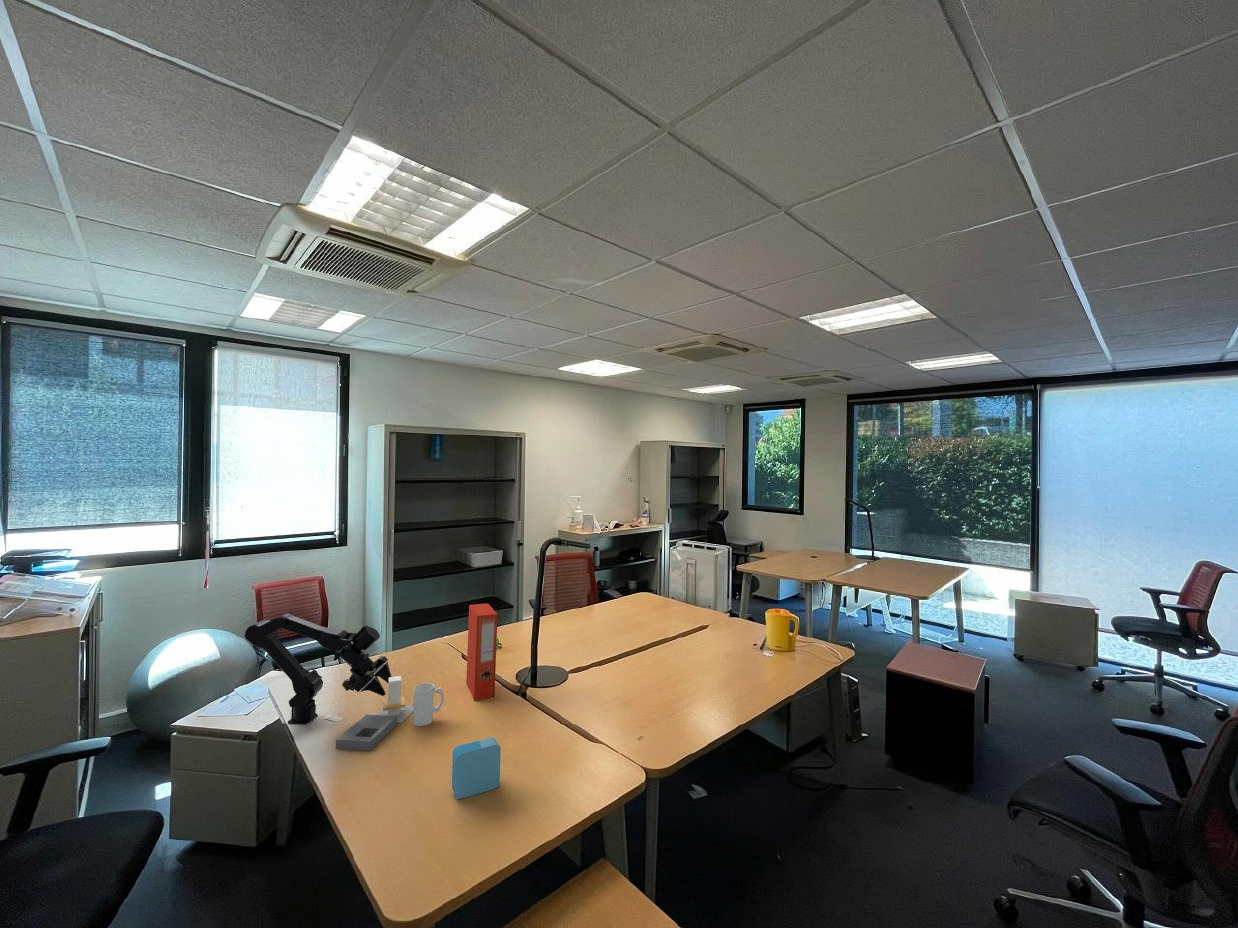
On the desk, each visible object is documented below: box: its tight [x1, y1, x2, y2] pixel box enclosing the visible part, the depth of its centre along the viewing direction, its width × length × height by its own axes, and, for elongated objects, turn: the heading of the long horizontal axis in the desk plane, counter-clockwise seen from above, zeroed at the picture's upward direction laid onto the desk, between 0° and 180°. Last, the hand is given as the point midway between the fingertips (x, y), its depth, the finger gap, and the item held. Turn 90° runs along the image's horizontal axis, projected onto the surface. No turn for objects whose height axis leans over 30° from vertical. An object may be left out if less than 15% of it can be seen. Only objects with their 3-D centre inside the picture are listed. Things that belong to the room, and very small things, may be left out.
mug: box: [412, 682, 445, 727], centre depth 169 cm, size 10×7×12 cm, turn 116°
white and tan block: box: [382, 675, 406, 716], centre depth 173 cm, size 7×7×12 cm
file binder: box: [465, 603, 499, 701], centre depth 195 cm, size 8×17×32 cm, turn 27°
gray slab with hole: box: [335, 714, 398, 752], centre depth 158 cm, size 11×16×3 cm
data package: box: [451, 737, 502, 800], centre depth 133 cm, size 12×4×12 cm, turn 120°
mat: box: [374, 704, 413, 724], centre depth 173 cm, size 12×12×1 cm
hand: (388, 689), depth 173 cm, fingers open, 9 cm apart
